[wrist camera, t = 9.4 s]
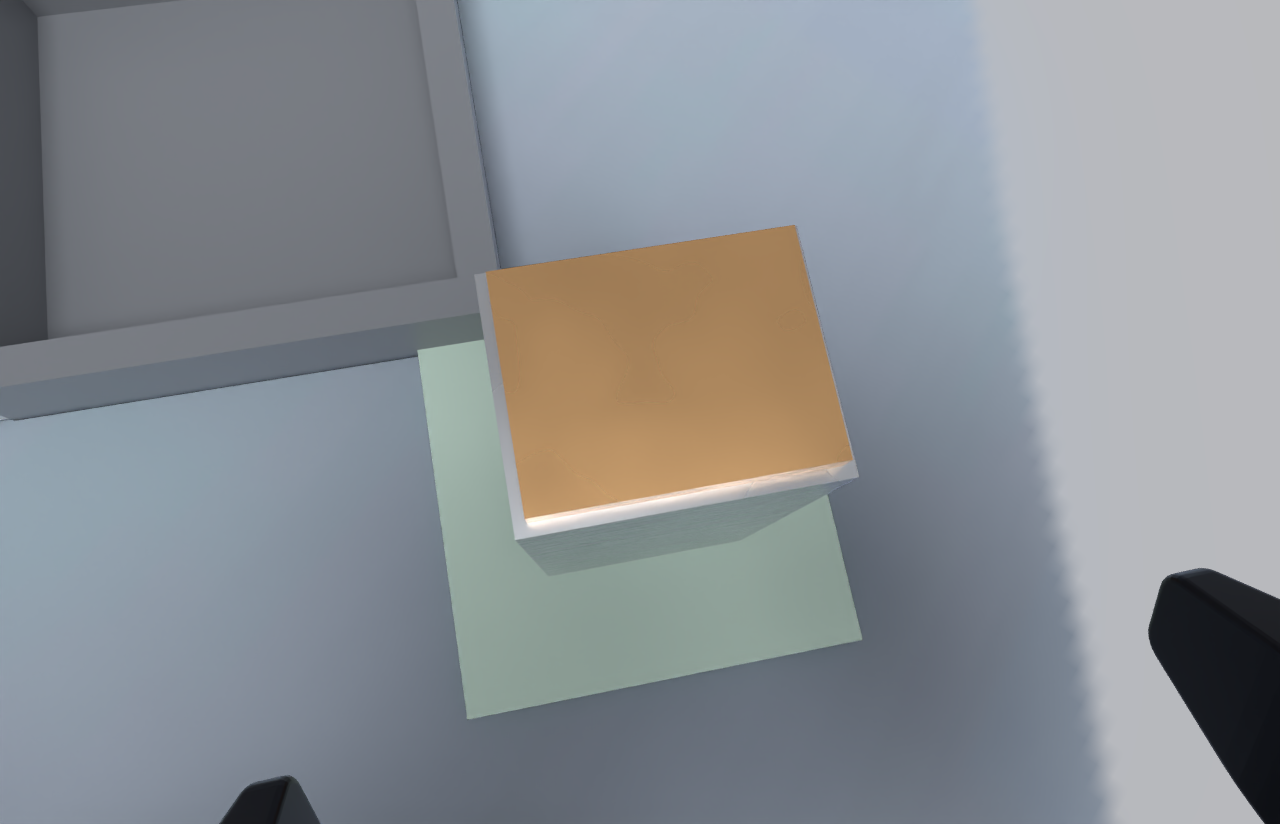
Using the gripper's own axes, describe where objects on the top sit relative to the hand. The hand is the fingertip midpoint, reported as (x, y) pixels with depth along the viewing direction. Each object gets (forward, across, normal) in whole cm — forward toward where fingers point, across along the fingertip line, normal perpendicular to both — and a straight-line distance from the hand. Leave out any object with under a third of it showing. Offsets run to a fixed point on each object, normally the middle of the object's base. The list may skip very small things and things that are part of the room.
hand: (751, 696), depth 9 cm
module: (+12, 0, +6) cm, 14 cm away
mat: (+13, 0, +6) cm, 14 cm away
